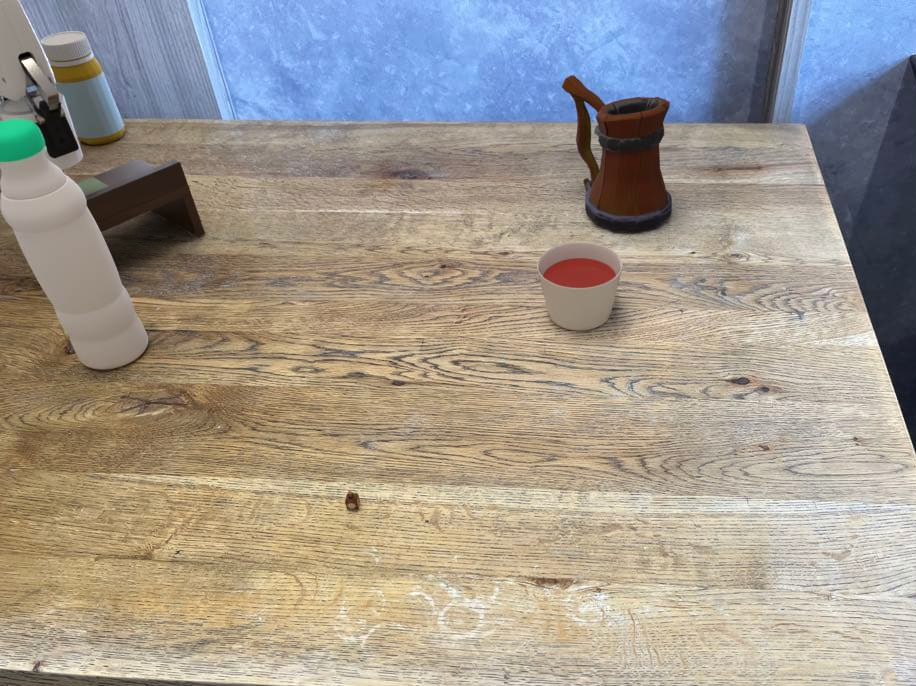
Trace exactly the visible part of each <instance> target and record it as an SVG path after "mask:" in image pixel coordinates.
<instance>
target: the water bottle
mask: <svg viewBox="0 0 916 686" xmlns="http://www.w3.org/2000/svg"><path fill="white" fill-rule="evenodd" d="M46 150H47V148H46V146H45V140H44V137H43V135H42V133H41V131H40V129H39V127H38V126H37V125H36V124H35V123H34V122H32V121H30V120H26V119H12V120H5V121H3V120H1V121H0V171H1V176H0V191H1V192H0V211H1V215H2V217H3V219H4V220H5V222H6V223H7V225H9V226H10V227H11V228H12V230H13V233H14V236H15V238H16V240H17V241H16V242H17V243H18V245H19V247H20V250H21V251H22V254H23V256H24V257H25V260H26V262H27V263H28V265H29V267H30V269H31V271H32V273H33V275H34V277H35V279H36V280H37V282H38V284H39V286H40V287H41V289H42V290H43V291H42V292H44V294H45V296H46V298H47V299H48V300H49V301H50V303H51V305H52V306H53V308H54V312H55V315H56V318H57V320H58V322H59V324H60V325H61V327H62V329H63V330H64V331H65V333H66V334H67V335H68V337H69V340H70V343H71V346H72V348H73V351H74V352H75V354H76V356H77V358H78V360H79V361H80V363H82V365H84V366H85V367H87V368H90V369H94V370H101V371H102V370H113V369H117V368H118V369H119V368H121V367H123V366H126V365H128V364H130V363H133V362H134V361H136V360H137V359H138V358H139V357H140V356H141V355H142V354H143V353H145V351H146V350H147V347H148V344H149V336H148V335H149V334H148V332H147V331H146V328H145V326H144V324H143V322H142V320H141V319H140V317H139V316H138V314H137V313H136V310H135V306H134V302H133V300H132V298H131V296H130V294H129V292H128V290H127V288H125V286H124V285H123V284H122V283H123V282H122V280H121V277H120V274H119V271H118V268H117V265H116V263H115V260H114V258H113V256H112V254H111V252H110V249H109V247H108V244H107V242H106V241H105V238H104V235H103V233H102V232H100V230H99V227H98V225H97V224H96V222H95V220H94V218H93V216H92V214H91V213H90V211H89V209H88V208H87V202H86V198H85V195H84V193H83V191H82V190H81V188H80V187H79V186H78V185H77V184H76V183H77V182H75V181H74V180H73V179H72V178H71V177H70V176H68V175H67V174H66V173H64V171H63V170H61V169H60V168H59V167H58V166H56V165H55V164H53V163H52V162H50V161H49V160H48V159H47V157H46V155H45V152H46Z"/></svg>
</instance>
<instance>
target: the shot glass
mask: <svg viewBox="0 0 916 686" xmlns="http://www.w3.org/2000/svg"><path fill="white" fill-rule="evenodd" d="M58 93H59V92H58ZM33 100H34V102H35V104H36V105H37V107H38V109H39V101H42V98H41V97H39V98H36V99H33ZM59 100H60V101H59V102H61V107H62V108H63V110H64V112H65V116H66V118H67V121H68V123H69V125H70V128H71V130H72V132H73V135H74V137H75V139H76V141H77V144H78V146H79V149H78V150H77V151H74V152H71V153H69V154H66V155H63V156H61V157H58V158H52V157H50V156H49V155H48V152H47V150H46V152H45V155H46V157H47V159H48V160H49V161H50V162H52V163H53V164H55V165H56V166H58V167H59V168H60V169H61V170H62V171H63V170H67V169H70V168H71V167H74V166H76V165H77V164H79V163H80V162H82V160H83V159H84V154H83V151H82V148H81V144H80V140H79V138H78V136H77V134H76V132H75V129H74V126H73V123H72V120H71V117H70V114H69V111H68V108H67V105H66V102H65V99H64V95H62V94H61V93H59ZM0 119H1V121H5V120H12V119H26V120H30V121H32V122H34V123H37V121H36V119H35V117H34V116H33V114H32V112H31V111H30V109H29V108H28V106H27V104H26V103H25V101H24V99H23V98H22V97H20V100H19V101H13V100H10V99H8V100H6V101H4V102H2V103H1V102H0Z"/></svg>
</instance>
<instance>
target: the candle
mask: <svg viewBox="0 0 916 686" xmlns="http://www.w3.org/2000/svg"><path fill="white" fill-rule="evenodd" d="M536 262H537V263H536V271H537V275H538V279H539V282H540V287H541V290H542V295H543V299H544V303H545V307H546V310H547V314H548V317H549V318H550V319H551V321H552V322H553V323H554V324H555V325H557V326H559V327H561V328H563V329H567V330H571V331H589V330H593V329H596V328H598V327H600V326H602V325H604V324H605V323H606V322H608V320H609V318H610V317H611V314H612V311H613V307H614V303H615V299H616V295H617V291H618V287H619V284H620V279H621V275H622V270H623V260H622V258H621V256H620V255H619V254H618V252H616V251H615V250H613V249H612V248H610V247H608V246H605V245H603V244H599V243H595V242H589V241H571V242H565V243H561V244H558V245H555V246H552V247H551V248H548V249H547V250H545V251H544V252H543V253H542V254H540V256H539V258H538V259H537V261H536Z"/></svg>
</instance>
